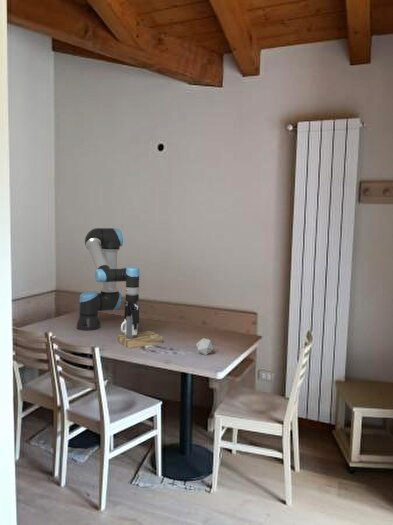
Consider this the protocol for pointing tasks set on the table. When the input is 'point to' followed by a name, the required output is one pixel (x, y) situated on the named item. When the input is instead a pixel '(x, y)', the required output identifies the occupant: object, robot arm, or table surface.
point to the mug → (124, 326)
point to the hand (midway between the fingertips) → (131, 333)
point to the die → (204, 346)
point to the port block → (141, 339)
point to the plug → (129, 328)
